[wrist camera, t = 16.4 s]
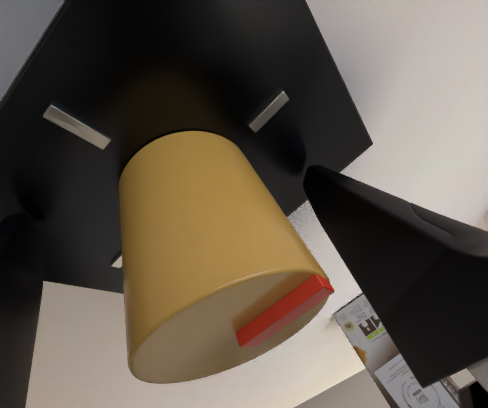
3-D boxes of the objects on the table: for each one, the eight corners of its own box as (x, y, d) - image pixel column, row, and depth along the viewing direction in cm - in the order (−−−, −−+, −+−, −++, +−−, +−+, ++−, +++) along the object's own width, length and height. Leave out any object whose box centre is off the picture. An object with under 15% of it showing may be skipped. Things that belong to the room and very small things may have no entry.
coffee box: (330, 315, 36) (426, 470, 26) (368, 288, 34) (488, 443, 24) (354, 318, 43) (438, 443, 32) (387, 296, 41) (489, 421, 30)
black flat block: (-55, 190, 9) (-103, 264, 7) (170, -162, 6) (207, -225, 4) (174, 259, 16) (185, 307, 14) (332, 113, 13) (377, 146, 11)
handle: (193, 247, 11) (236, 388, 7) (87, 207, 8) (73, 416, 4) (271, 176, 10) (365, 303, 6) (183, 97, 7) (268, 258, 3)
